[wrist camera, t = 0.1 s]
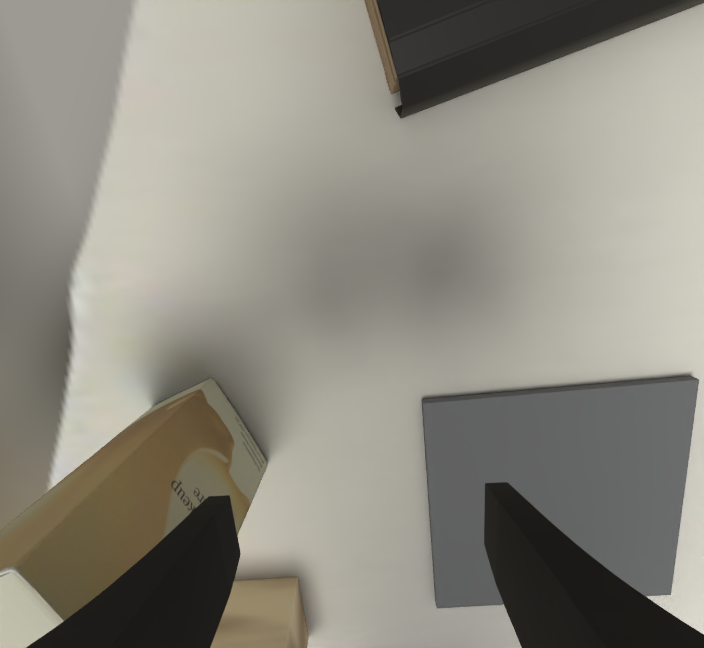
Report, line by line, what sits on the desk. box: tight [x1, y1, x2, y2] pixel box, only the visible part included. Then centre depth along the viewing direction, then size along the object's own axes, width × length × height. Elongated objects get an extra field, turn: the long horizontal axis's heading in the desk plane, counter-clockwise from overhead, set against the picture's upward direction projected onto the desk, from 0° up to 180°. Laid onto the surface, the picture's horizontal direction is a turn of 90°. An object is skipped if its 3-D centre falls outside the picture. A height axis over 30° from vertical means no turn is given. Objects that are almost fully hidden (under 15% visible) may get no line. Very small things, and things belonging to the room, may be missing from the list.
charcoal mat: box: [422, 376, 699, 608], centre depth 22 cm, size 14×14×1 cm
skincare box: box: [0, 378, 267, 648], centre depth 16 cm, size 6×4×12 cm
